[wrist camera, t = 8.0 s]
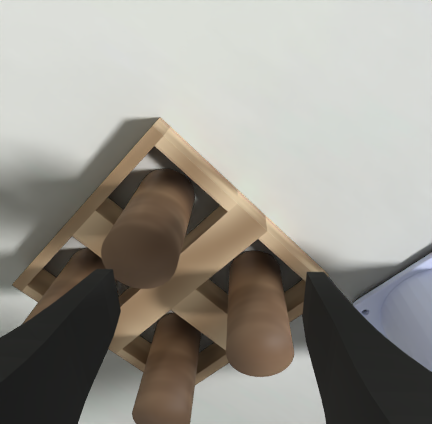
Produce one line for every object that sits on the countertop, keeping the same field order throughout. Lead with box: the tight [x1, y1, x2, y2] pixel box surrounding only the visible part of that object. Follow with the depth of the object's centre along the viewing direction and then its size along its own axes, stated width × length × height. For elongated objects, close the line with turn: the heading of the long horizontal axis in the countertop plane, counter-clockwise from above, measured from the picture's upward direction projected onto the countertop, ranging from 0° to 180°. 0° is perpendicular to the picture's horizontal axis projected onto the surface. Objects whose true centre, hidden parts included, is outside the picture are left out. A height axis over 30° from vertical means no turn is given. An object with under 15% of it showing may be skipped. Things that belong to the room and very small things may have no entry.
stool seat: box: [12, 118, 329, 424], centre depth 22 cm, size 15×15×7 cm
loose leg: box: [101, 169, 195, 289], centre depth 19 cm, size 4×4×7 cm
